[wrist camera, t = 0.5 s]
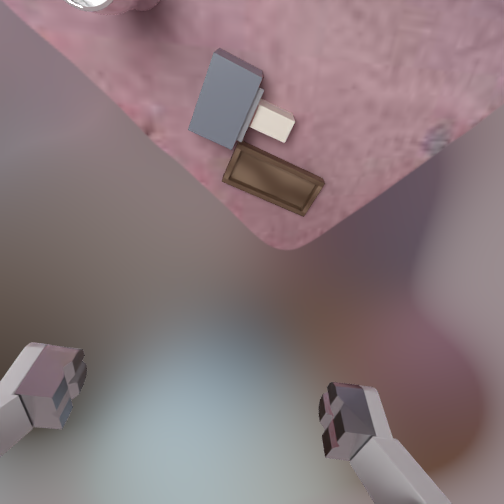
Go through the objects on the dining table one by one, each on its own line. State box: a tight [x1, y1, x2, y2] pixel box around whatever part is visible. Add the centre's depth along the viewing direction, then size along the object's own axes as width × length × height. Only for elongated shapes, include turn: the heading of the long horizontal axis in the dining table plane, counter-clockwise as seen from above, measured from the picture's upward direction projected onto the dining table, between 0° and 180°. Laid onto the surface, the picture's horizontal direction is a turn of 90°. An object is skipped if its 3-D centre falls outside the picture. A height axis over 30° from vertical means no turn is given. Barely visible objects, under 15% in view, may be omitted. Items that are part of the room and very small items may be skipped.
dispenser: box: [188, 48, 264, 150], centre depth 41 cm, size 9×7×6 cm
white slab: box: [248, 99, 295, 143], centre depth 43 cm, size 3×11×5 cm, turn 67°
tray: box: [222, 141, 325, 217], centre depth 50 cm, size 6×14×2 cm, turn 65°
